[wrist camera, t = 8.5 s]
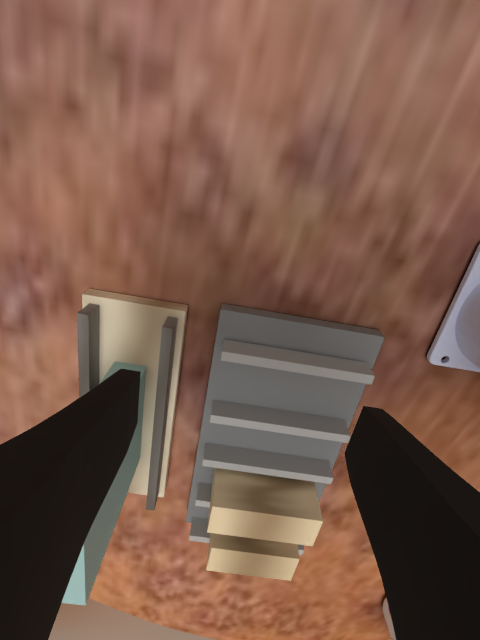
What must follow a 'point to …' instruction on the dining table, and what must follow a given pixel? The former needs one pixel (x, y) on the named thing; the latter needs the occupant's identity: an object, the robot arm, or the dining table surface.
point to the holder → (141, 349)
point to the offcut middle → (264, 507)
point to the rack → (278, 400)
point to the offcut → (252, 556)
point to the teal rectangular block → (107, 507)
